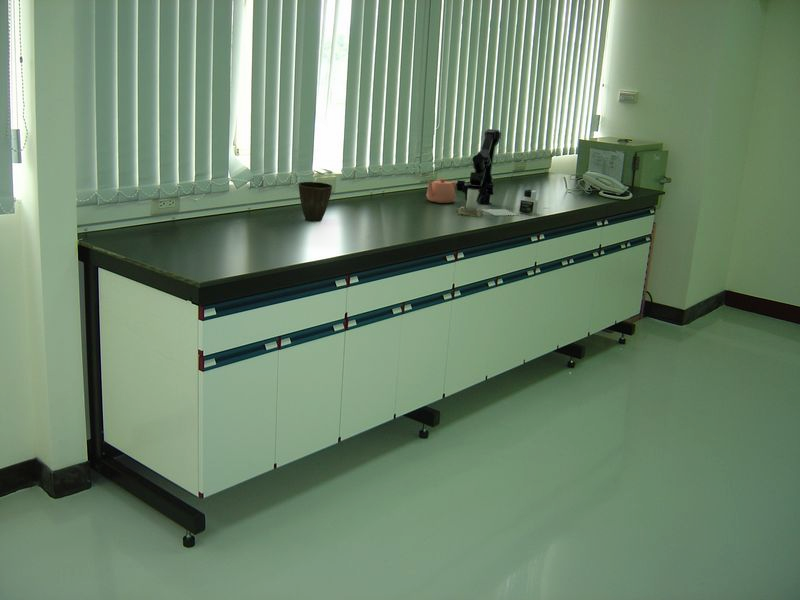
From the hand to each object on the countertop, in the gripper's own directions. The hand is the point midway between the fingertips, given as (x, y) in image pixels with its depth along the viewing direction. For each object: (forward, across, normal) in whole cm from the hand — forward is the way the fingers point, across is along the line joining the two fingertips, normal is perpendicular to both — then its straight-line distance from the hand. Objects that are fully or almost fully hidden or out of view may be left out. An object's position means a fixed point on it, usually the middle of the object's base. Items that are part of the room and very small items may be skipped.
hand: (471, 201), depth 422 cm
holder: (+5, 0, +5) cm, 7 cm away
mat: (-4, +13, +14) cm, 19 cm away
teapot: (-12, -22, +22) cm, 33 cm away
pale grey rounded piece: (+5, 0, +5) cm, 7 cm away
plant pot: (+48, -59, -38) cm, 85 cm away
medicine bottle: (-11, +26, +20) cm, 35 cm away
